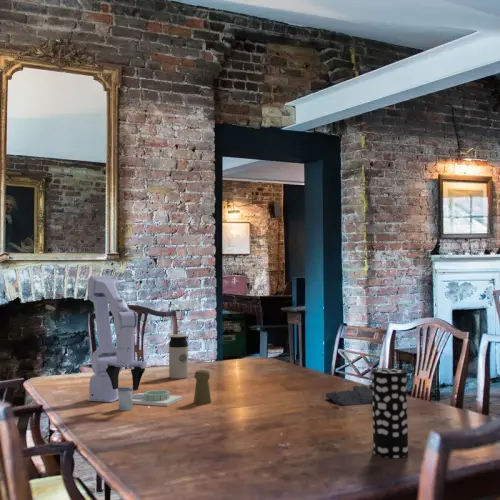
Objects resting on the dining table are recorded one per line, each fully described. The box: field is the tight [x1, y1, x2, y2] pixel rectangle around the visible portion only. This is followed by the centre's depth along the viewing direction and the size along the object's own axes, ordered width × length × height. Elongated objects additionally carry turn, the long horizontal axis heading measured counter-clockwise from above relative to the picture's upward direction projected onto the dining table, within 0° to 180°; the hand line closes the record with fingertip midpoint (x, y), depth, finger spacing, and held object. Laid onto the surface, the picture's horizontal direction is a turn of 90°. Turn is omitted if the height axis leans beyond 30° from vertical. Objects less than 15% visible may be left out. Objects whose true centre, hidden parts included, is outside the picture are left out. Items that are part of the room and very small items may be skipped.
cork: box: [193, 369, 212, 405], centre depth 208 cm, size 6×6×11 cm
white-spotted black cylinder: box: [371, 367, 409, 459], centre depth 149 cm, size 8×8×20 cm
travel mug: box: [168, 333, 189, 380], centre depth 258 cm, size 8×8×18 cm
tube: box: [118, 386, 133, 412], centre depth 199 cm, size 5×5×7 cm
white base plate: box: [132, 389, 184, 407], centre depth 211 cm, size 18×12×3 cm, turn 70°
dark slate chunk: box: [325, 384, 373, 407], centre depth 210 cm, size 15×22×5 cm
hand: (125, 389), depth 199 cm, fingers open, 7 cm apart
